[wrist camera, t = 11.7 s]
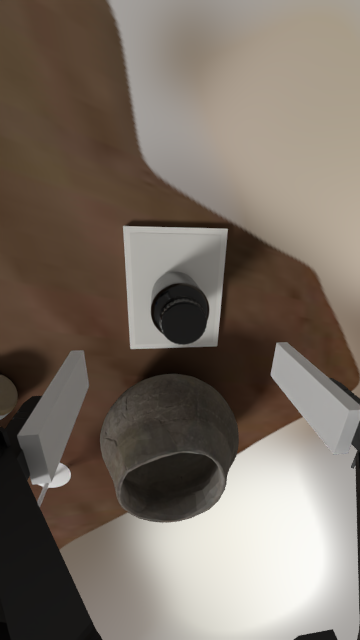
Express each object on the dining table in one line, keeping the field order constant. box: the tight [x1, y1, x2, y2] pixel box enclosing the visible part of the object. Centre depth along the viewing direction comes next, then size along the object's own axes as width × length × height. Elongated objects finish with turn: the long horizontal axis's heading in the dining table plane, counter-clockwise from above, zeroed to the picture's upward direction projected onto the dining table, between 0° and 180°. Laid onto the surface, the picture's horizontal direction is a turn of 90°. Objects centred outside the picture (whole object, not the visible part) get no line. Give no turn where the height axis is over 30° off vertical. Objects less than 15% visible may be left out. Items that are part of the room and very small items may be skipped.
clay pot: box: [100, 373, 239, 522], centre depth 37 cm, size 22×21×15 cm
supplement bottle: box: [151, 272, 209, 345], centre depth 29 cm, size 7×7×12 cm
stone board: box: [123, 226, 228, 349], centre depth 35 cm, size 18×14×1 cm
